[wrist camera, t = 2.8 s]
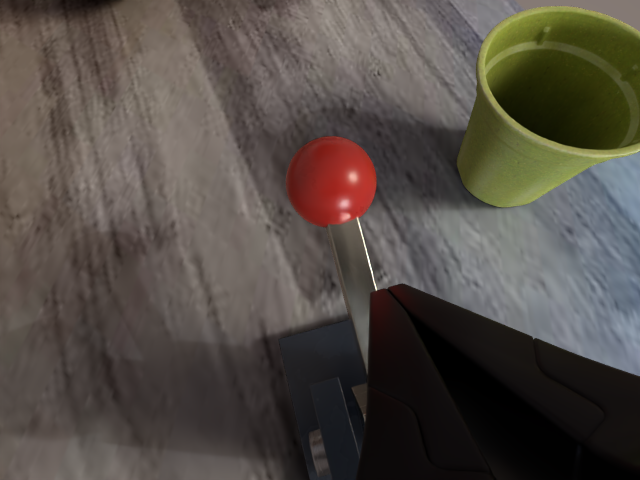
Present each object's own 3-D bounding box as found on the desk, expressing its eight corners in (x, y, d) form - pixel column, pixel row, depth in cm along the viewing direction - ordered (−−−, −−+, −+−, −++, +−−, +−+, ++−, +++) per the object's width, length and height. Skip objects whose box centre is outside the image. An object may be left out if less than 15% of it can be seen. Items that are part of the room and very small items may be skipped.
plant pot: (406, 185, 25) (444, 94, 17) (468, 96, 28) (525, -20, 20) (534, 257, 23) (645, 193, 15) (588, 154, 26) (706, 52, 18)
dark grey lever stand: (280, 341, 22) (246, 313, 13) (407, 305, 22) (462, 254, 13) (325, 539, 18) (323, 700, 9) (474, 491, 19) (611, 596, 10)
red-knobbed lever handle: (277, 160, 14) (273, 135, 11) (355, 142, 15) (372, 112, 12) (354, 455, 14) (371, 514, 11) (431, 431, 15) (469, 482, 11)
